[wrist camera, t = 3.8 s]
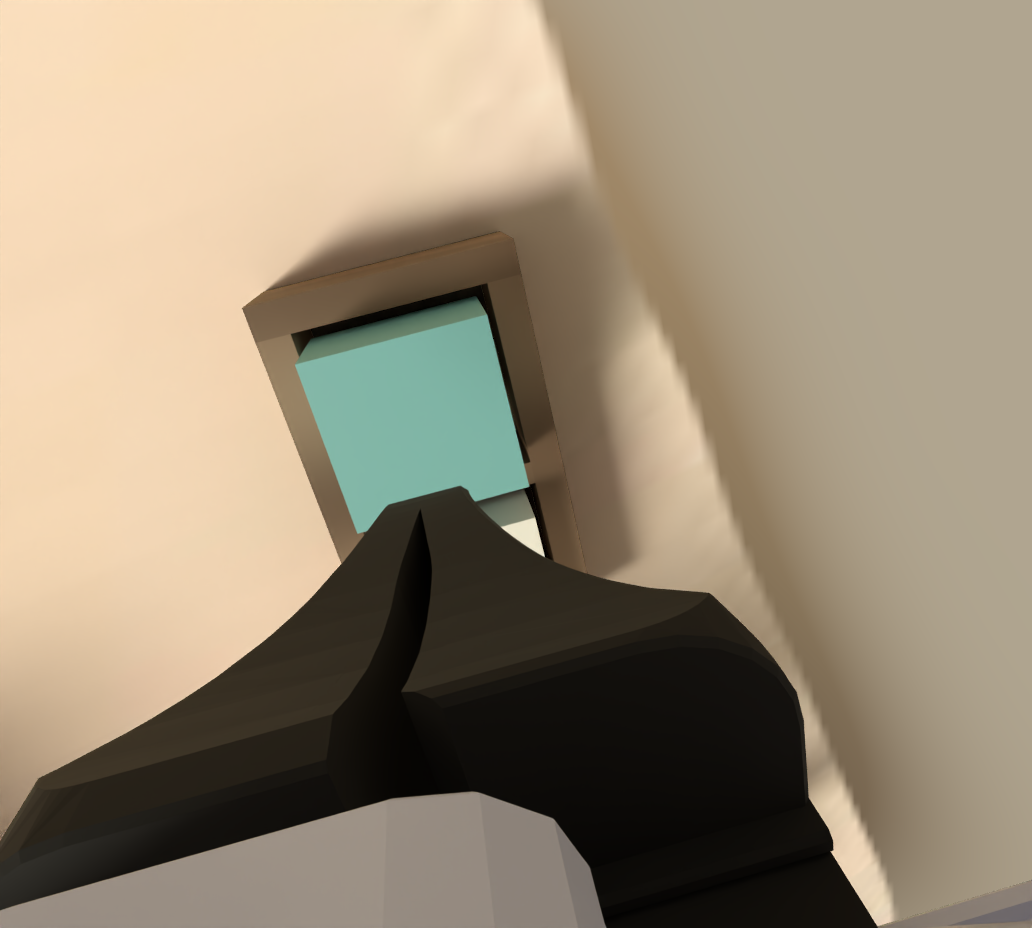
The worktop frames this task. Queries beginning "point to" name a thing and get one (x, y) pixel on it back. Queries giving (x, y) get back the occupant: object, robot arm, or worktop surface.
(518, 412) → the board
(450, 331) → the teal key
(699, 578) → the worktop surface
